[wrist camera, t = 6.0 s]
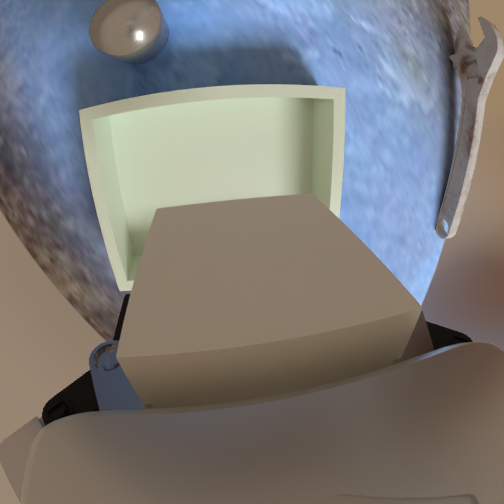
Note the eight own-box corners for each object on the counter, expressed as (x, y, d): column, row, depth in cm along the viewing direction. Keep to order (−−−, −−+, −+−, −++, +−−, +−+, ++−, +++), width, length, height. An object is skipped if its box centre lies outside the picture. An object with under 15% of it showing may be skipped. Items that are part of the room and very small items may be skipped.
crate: (101, 107, 21) (78, 110, 16) (319, 88, 24) (345, 88, 19) (129, 261, 29) (119, 291, 24) (314, 239, 32) (333, 265, 27)
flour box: (156, 208, 10) (115, 357, 4) (312, 193, 11) (422, 307, 5) (182, 326, 13) (186, 464, 7) (303, 310, 14) (358, 432, 8)
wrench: (422, 221, 37) (447, 14, 19) (430, 220, 37) (456, 18, 19) (455, 254, 30) (496, 18, 12) (463, 252, 31) (504, 24, 13)
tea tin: (111, 19, 17) (90, 2, 12) (168, 8, 18) (160, -15, 12) (112, 69, 20) (89, 62, 14) (169, 58, 20) (160, 46, 15)
